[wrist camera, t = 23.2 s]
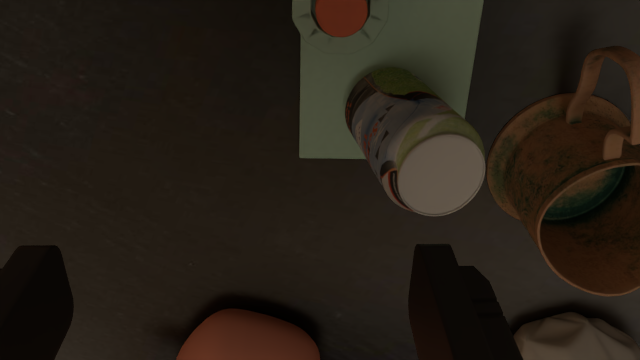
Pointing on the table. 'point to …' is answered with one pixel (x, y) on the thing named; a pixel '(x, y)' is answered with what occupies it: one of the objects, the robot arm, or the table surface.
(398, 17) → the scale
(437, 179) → the beverage can
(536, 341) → the vase
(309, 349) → the teapot
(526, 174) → the mug
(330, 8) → the button
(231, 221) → the table surface
